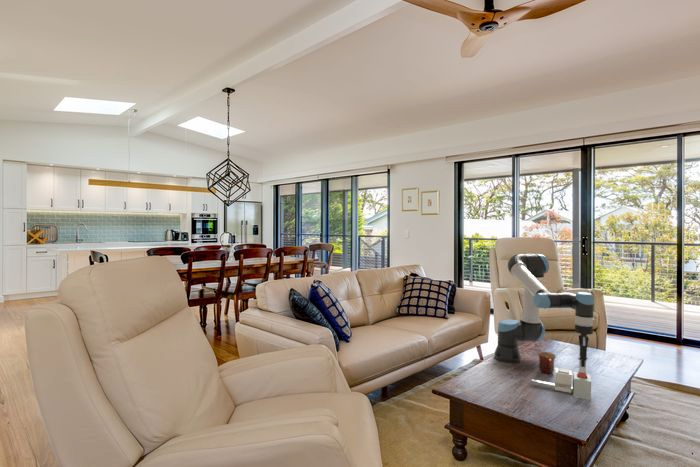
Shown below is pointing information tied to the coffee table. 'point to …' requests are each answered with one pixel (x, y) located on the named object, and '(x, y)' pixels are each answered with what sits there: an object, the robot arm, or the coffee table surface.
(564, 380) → the cream and grey block
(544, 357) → the mug
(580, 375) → the button
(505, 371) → the coffee table surface
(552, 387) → the rail
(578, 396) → the end cabinet
